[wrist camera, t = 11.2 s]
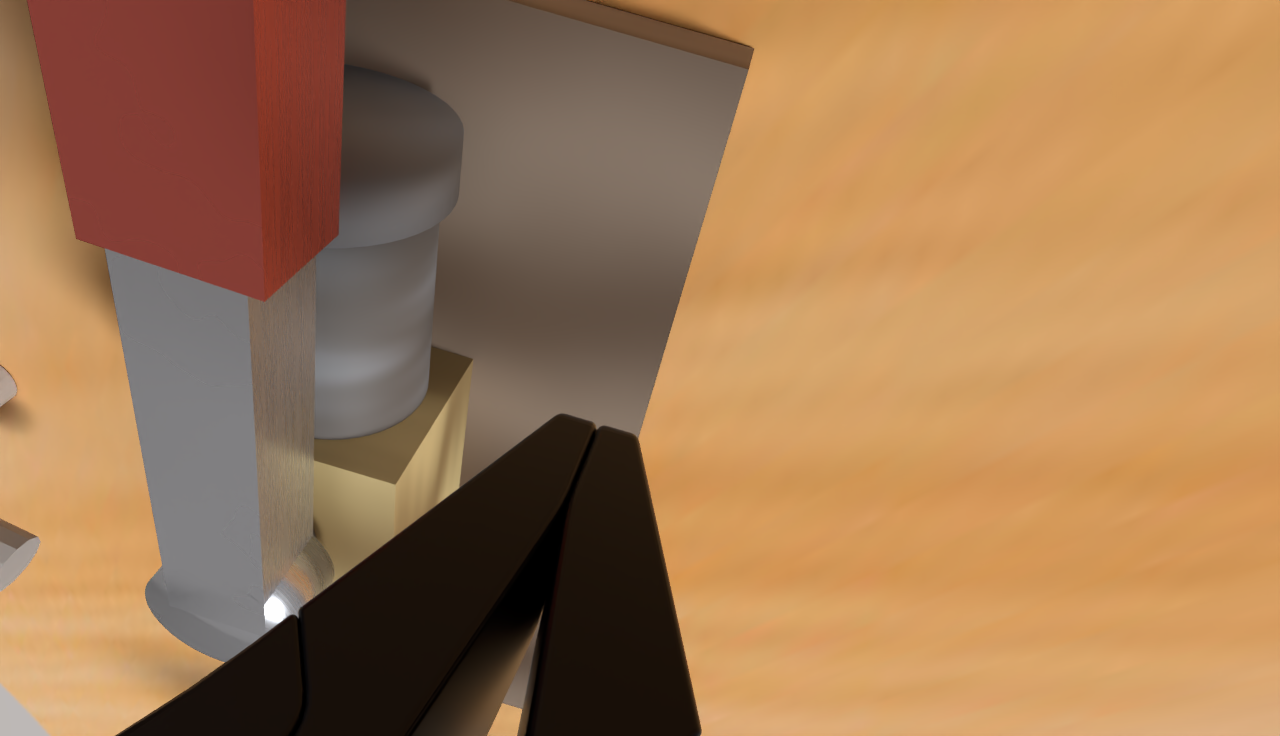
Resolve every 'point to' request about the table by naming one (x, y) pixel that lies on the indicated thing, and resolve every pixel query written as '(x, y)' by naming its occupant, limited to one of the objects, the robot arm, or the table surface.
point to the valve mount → (501, 241)
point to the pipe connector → (4, 545)
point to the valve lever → (210, 274)
